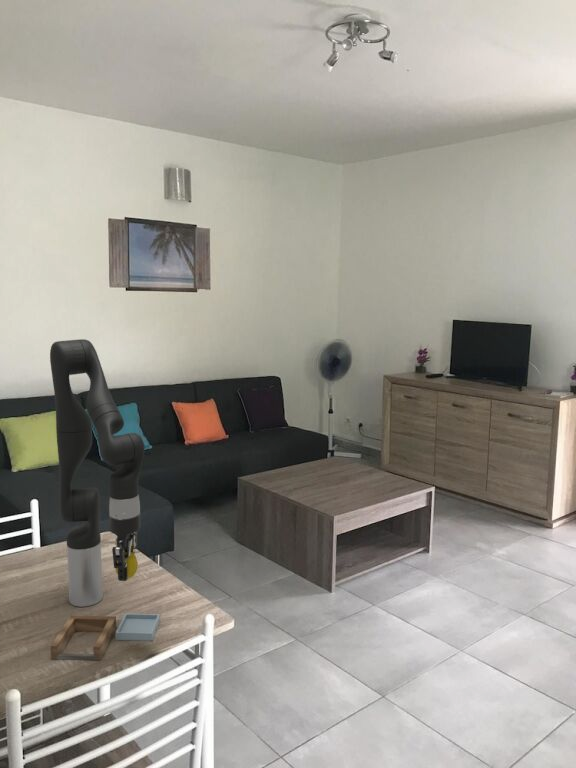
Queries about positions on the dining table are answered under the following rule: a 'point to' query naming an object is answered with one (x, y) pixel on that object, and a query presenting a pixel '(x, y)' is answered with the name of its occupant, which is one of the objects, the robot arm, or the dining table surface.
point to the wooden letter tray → (84, 624)
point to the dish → (138, 627)
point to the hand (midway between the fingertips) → (126, 574)
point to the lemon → (130, 565)
